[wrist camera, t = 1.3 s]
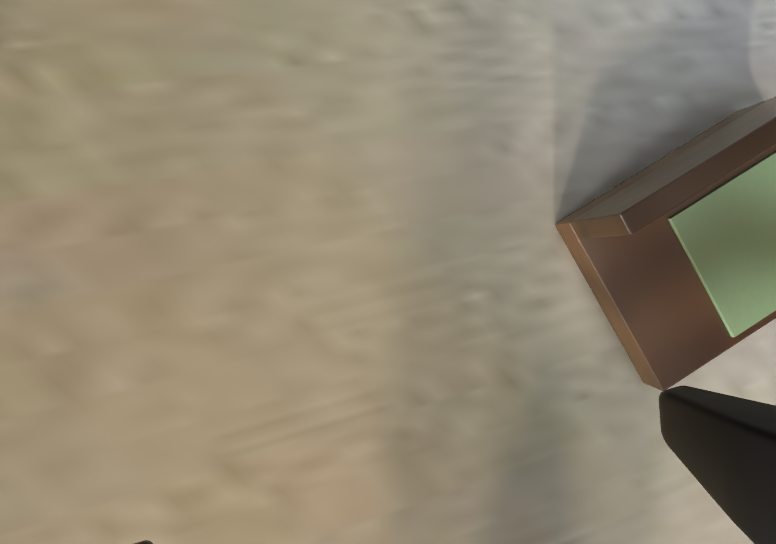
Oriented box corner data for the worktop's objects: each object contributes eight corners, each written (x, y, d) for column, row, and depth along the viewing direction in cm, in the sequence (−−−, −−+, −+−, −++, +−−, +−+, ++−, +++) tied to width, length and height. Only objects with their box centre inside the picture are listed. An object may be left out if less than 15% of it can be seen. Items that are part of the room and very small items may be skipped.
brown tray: (819, 268, 24) (959, 272, 18) (643, 383, 23) (733, 422, 18) (738, 110, 23) (858, 65, 18) (554, 224, 22) (619, 214, 17)
